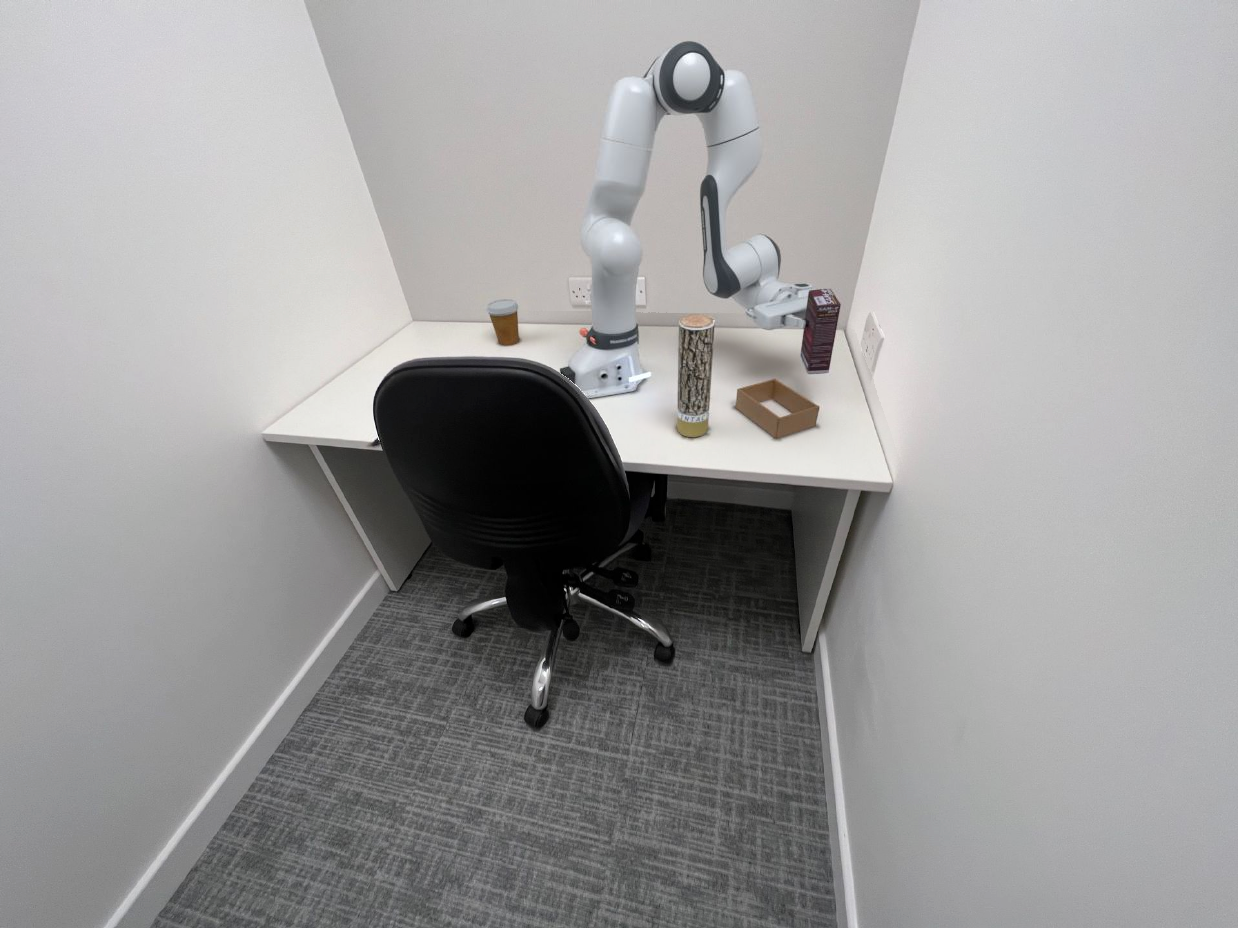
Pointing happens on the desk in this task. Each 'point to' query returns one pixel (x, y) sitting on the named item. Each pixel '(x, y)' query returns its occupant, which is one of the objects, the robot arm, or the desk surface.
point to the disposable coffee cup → (504, 320)
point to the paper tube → (694, 374)
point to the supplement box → (819, 330)
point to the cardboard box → (793, 401)
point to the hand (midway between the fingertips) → (819, 321)
